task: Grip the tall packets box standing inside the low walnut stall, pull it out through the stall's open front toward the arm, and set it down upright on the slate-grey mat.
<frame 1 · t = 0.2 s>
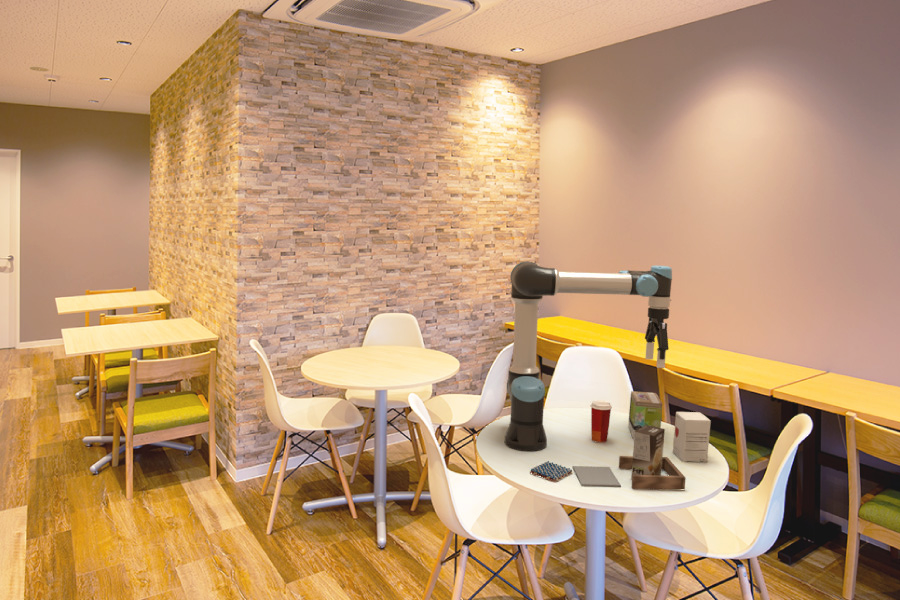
hand: (654, 363, 236), 28 cm above the table, tool pointing down, fingers open, 13 cm apart
woven mat: (550, 475, 201), on the table
slate mat: (595, 477, 199), on the table
coffee box: (646, 479, 199), on the table
walnut stall: (646, 478, 199), on the table
tea box: (643, 434, 241), on the table
paper cup: (598, 440, 233), on the table
supplement box: (689, 457, 218), on the table
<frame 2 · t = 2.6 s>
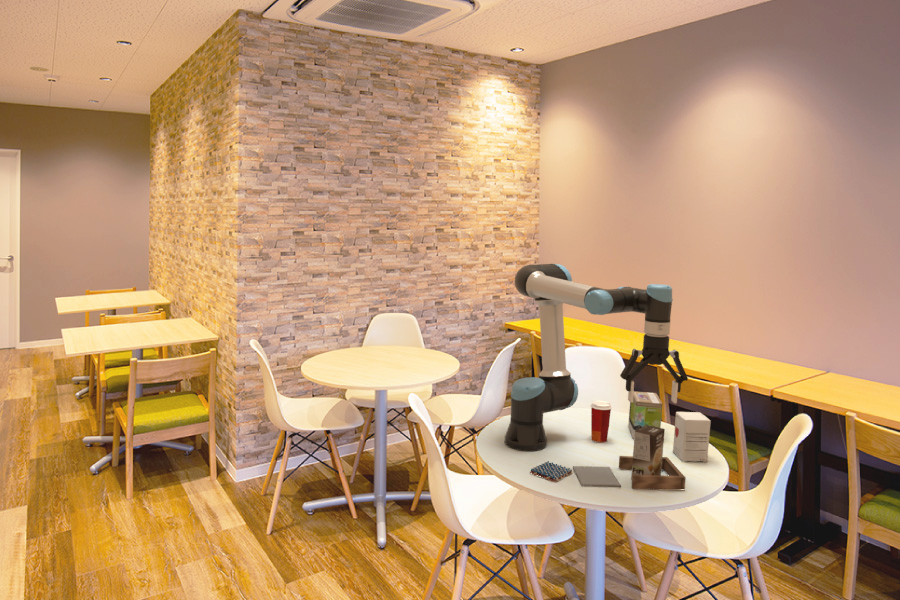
hand: (652, 401, 196), 25 cm above the table, tool pointing down, fingers open, 13 cm apart
nothing on the table moved.
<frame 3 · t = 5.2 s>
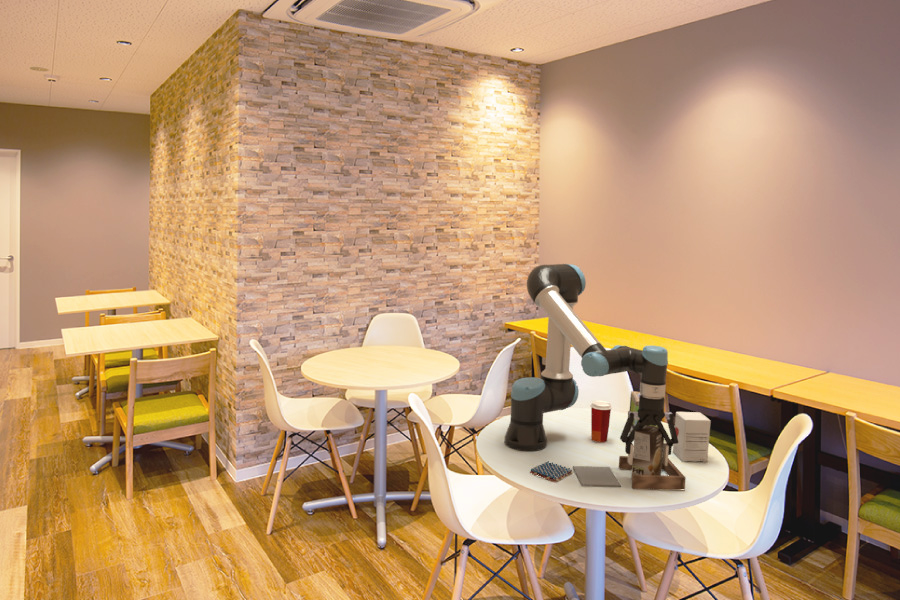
hand: (647, 463, 199), 5 cm above the table, tool pointing down, fingers closed on coffee box, 10 cm apart
coffee box: (646, 478, 199), on the table, touching gripper
everything else where it was.
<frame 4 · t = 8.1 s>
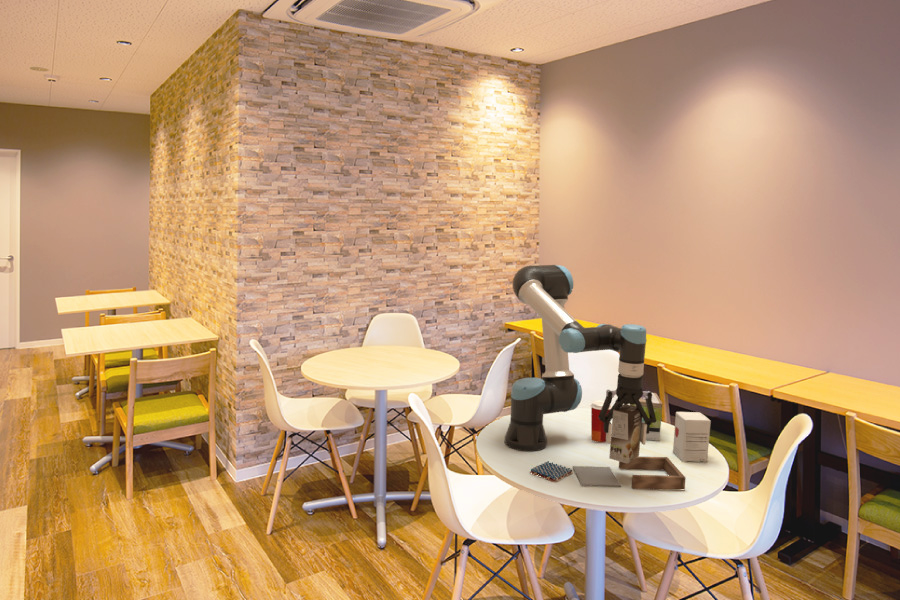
hand: (625, 442, 198), 11 cm above the table, tool pointing down, fingers closed on coffee box, 10 cm apart
coffee box: (624, 457, 199), point 6 cm above the table, touching gripper
everything else where it was.
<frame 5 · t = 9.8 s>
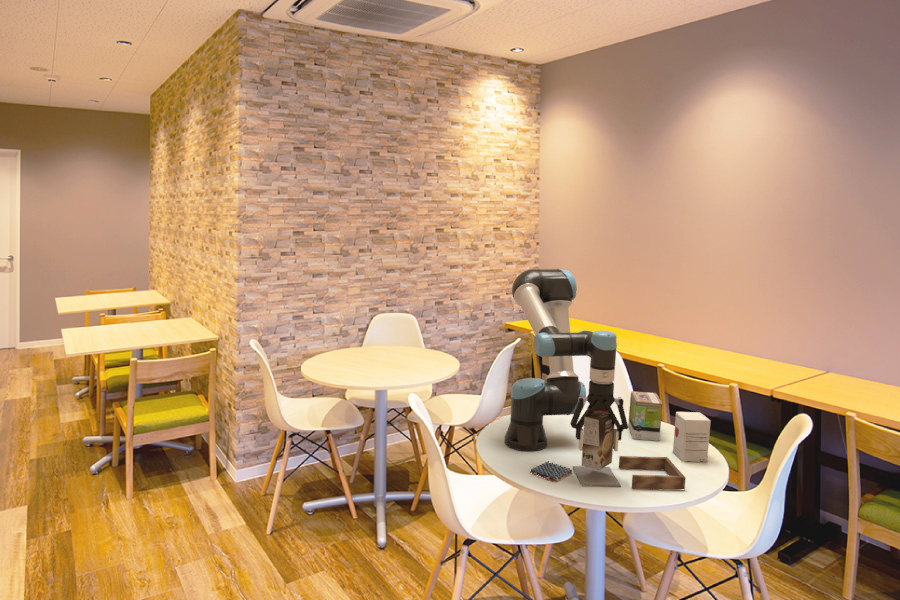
hand: (597, 449, 198), 9 cm above the table, tool pointing down, fingers closed on coffee box, 10 cm apart
coffee box: (596, 464, 198), point 4 cm above the table, touching gripper
everything else where it was.
when the fingers open (7 cm above the table, at t = 11.2 s): coffee box drops 1 cm, resting on slate mat.
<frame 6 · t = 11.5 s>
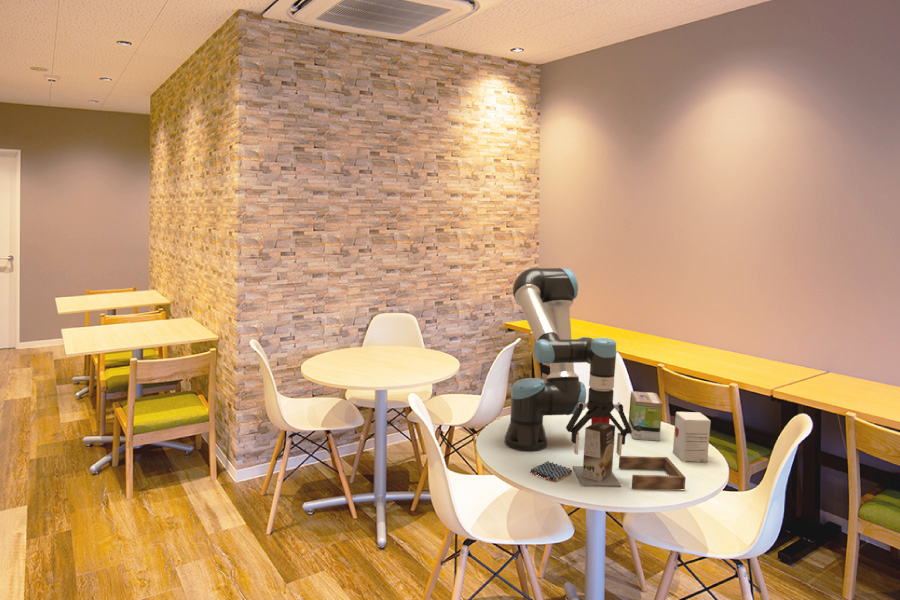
hand: (597, 453, 198), 8 cm above the table, tool pointing down, fingers open, 13 cm apart
coffee box: (597, 475, 199), resting on slate mat
everything else where it was.
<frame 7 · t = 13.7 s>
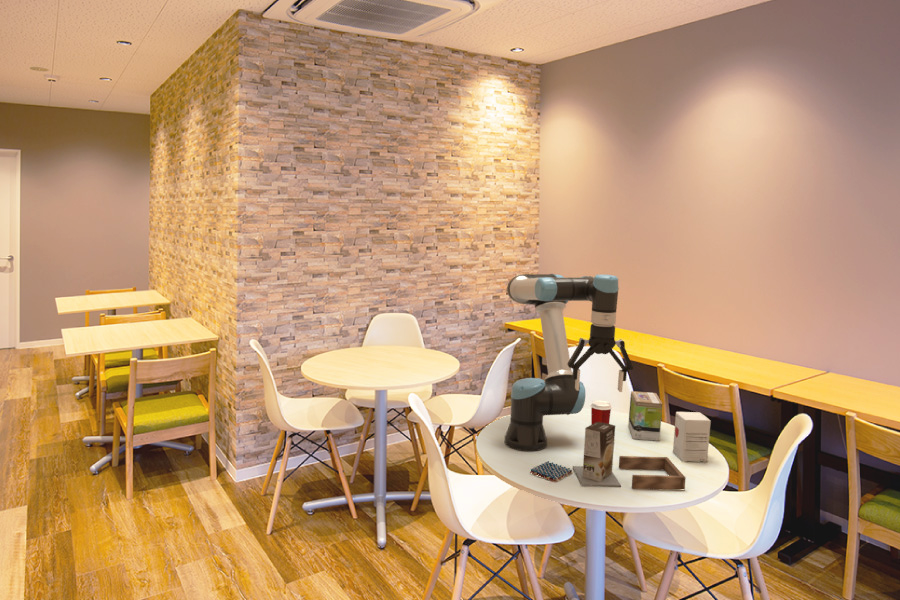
hand: (598, 390, 199), 27 cm above the table, tool pointing down, fingers open, 13 cm apart
nothing on the table moved.
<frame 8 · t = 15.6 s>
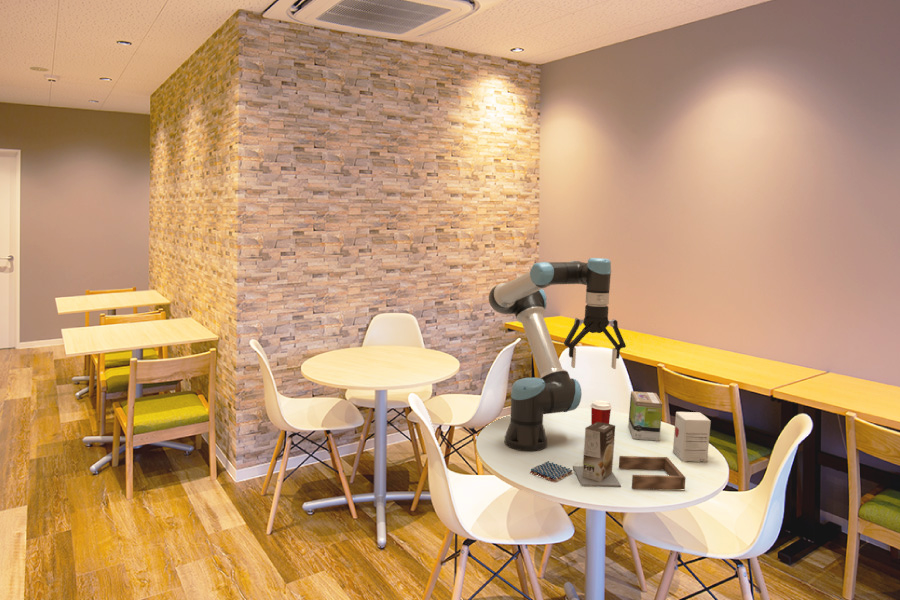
hand: (593, 367, 211), 32 cm above the table, tool pointing down, fingers open, 13 cm apart
nothing on the table moved.
at the end: coffee box inside the target area on the slate mat (0.4 cm from its centre), point 0.4 cm above the slate mat's base; coffee box tilted 0°; the gripper is holding nothing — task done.
